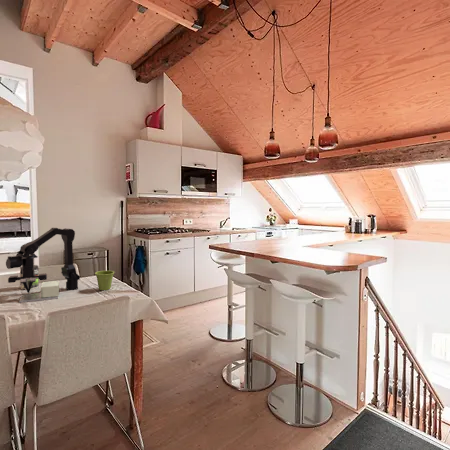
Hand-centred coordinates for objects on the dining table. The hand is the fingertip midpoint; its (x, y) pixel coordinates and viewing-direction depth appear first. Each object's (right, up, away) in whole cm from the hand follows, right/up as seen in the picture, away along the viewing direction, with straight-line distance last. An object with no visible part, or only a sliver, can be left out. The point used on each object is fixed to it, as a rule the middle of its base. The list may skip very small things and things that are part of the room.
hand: (28, 292), depth 178 cm
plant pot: (+36, -3, +22) cm, 42 cm away
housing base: (+5, -4, +3) cm, 7 cm away
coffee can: (-14, -2, +23) cm, 27 cm away
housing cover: (+10, -2, +5) cm, 11 cm away
